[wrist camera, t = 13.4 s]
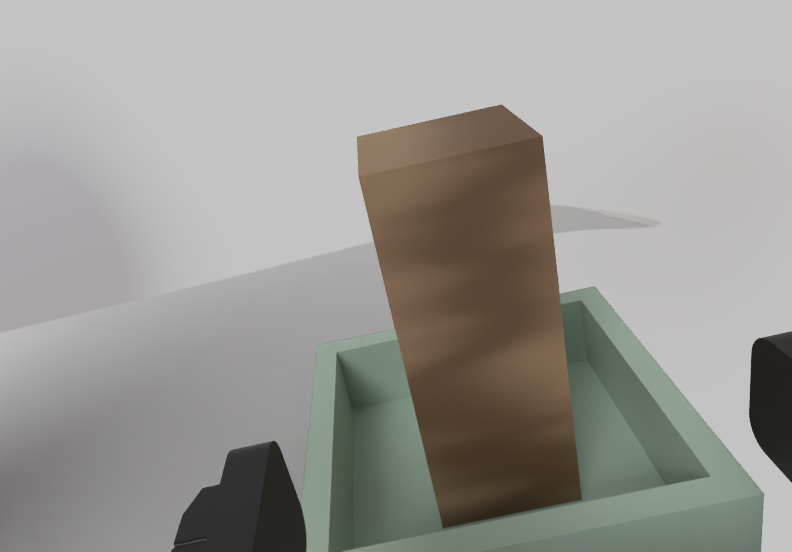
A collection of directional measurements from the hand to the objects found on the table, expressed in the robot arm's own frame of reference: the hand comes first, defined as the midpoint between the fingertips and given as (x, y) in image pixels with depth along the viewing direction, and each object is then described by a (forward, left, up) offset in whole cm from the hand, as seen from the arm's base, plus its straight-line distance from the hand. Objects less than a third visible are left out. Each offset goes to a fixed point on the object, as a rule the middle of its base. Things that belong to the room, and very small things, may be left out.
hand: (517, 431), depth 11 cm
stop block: (0, +8, -8) cm, 11 cm away
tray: (0, +8, -8) cm, 11 cm away
